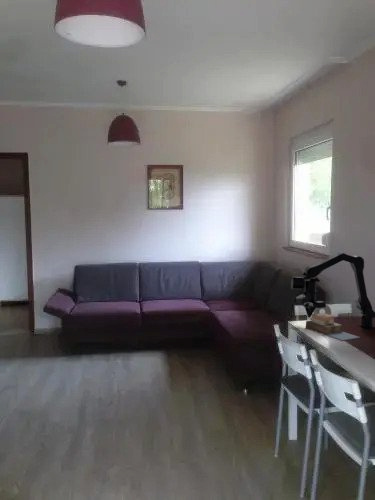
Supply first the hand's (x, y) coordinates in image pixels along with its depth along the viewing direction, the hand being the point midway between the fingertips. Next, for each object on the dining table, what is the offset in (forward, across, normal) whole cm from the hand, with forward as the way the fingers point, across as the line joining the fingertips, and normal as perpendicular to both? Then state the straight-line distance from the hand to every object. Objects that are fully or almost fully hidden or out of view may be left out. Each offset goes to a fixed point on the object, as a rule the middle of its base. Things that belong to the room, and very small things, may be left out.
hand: (309, 317), depth 249 cm
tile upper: (-1, +10, 0) cm, 10 cm away
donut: (+5, -6, +16) cm, 18 cm away
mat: (+5, +24, 0) cm, 24 cm away
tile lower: (+1, +10, 0) cm, 10 cm away
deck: (+5, +11, 0) cm, 12 cm away
